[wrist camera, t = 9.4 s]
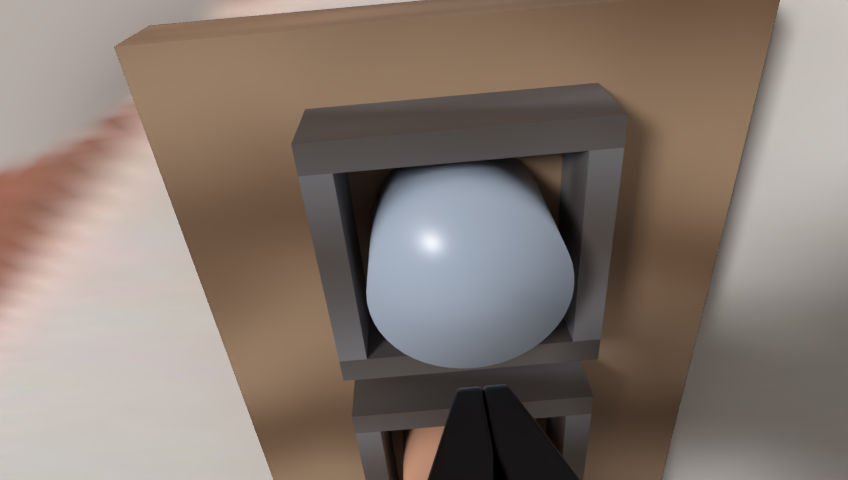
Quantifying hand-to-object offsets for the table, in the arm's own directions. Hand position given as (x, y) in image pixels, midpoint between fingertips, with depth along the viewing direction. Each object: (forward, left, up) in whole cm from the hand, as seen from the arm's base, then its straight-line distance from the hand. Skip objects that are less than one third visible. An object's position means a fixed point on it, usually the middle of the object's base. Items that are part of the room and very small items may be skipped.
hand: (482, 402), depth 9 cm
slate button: (0, 0, -6) cm, 6 cm away
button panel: (-8, 0, -8) cm, 11 cm away
